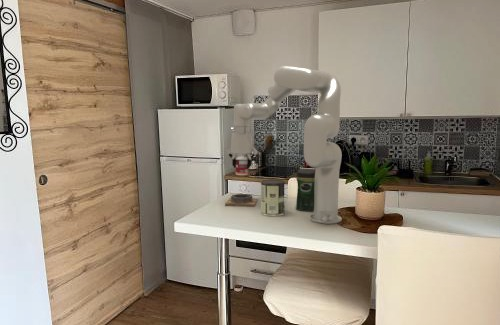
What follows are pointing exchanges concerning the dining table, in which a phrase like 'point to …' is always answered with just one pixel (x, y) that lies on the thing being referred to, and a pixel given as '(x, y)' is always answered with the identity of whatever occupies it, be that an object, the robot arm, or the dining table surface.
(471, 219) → the dining table surface
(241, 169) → the pill bottle
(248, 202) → the dish on wooden board
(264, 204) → the coffee can
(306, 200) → the coffee jar
